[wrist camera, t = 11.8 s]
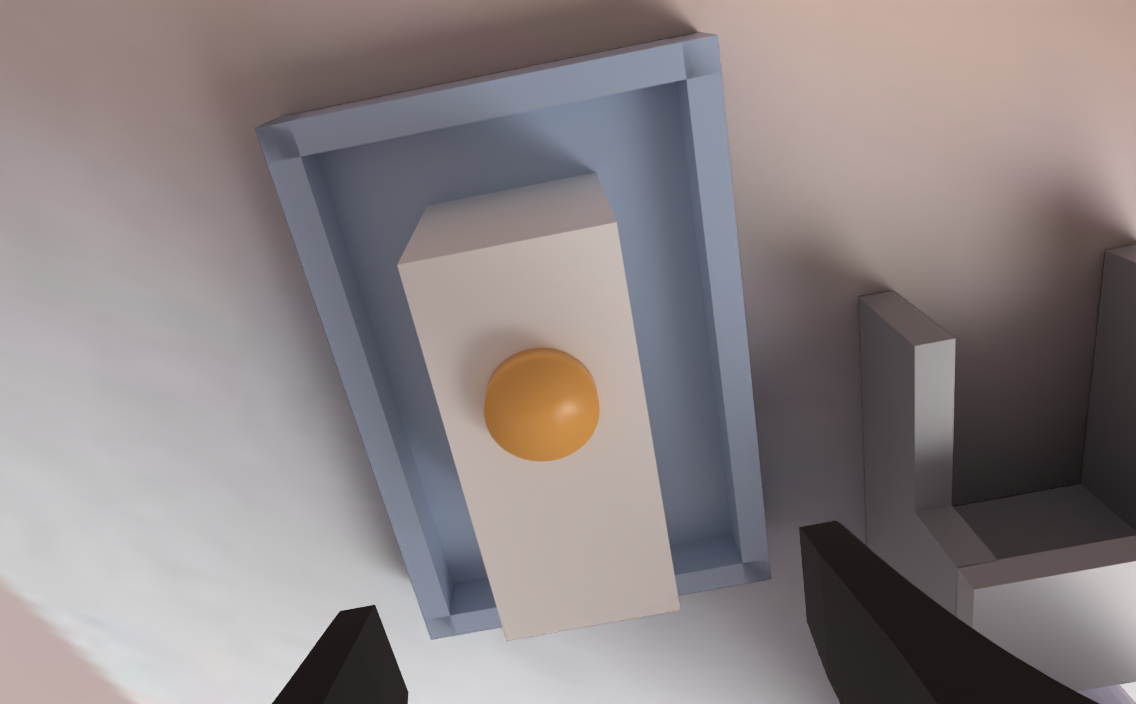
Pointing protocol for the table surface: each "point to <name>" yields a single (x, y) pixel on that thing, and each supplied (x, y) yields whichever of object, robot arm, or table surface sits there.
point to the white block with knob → (543, 402)
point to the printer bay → (1012, 524)
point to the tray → (651, 262)
